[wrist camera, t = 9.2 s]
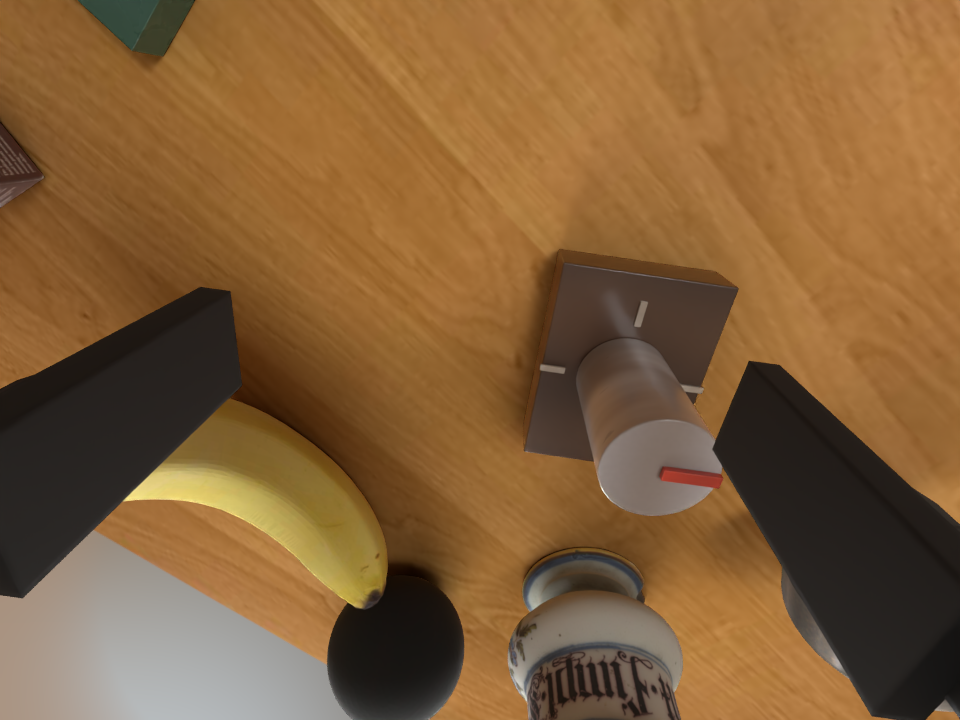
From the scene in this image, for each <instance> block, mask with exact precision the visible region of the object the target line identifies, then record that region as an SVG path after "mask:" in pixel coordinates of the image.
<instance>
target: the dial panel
mask: <svg viewBox="0 0 960 720" xmlns="http://www.w3.org/2000/svg"><path fill="white" fill-rule="evenodd" d="M737 292H738V287H737V286H735V285H734V284H732V283H731V282H730V281H728V280H727V279H726V278H724V277H723V276H722V275H720V274H719V273H717V272H714V271H707V270H701V269H694V268H687V267H680V266H673V265H666V264H659V263H652V262H646V261H639V260H632V259H625V258H618V257H611V256H604V255H597V254H591V253H584V252H577V251H570V250H563V249H559V251H558V256H557V261H556V266H555V271H554V276H553V281H552V286H551V291H550V296H549V300H548V305H547V310H546V315H545V320H544V325H543V330H542V335H541V340H540V344H539V349H538V354H537V359H536V364H535V369H534V374H533V379H532V384H531V389H530V393H529V398H528V403H527V408H526V413H525V418H524V423H523V436H524V451H525V452H531V453H538V454H545V455H552V456H559V457H566V458H572V459H579V460H586V461H593V462H594V459H593V455H592V451H591V447H590V442H589V438H588V434H587V429H586V425H585V421H584V417H583V412H582V408H581V404H580V400H579V395H578V391H577V386H576V377H577V372H578V369H579V366H580V364H581V362H582V361H583V359H584V358H585V357H586V356H587V355H588V353H590V352H591V351H592V350H593V349H594V348H596V347H597V346H599V345H601V344H603V343H605V342H607V341H611V340H614V339H620V338H630V339H637V340H641V341H644V342H646V343H648V344H650V345H652V346H653V347H654V348H656V349H657V350H658V351H659V352H660V354H661V355H662V356H663V358H664V360H665V361H666V363H667V364H668V366H669V367H670V369H671V371H672V372H673V374H674V375H675V377H676V378H677V380H678V382H679V383H680V385H681V386H682V388H683V389H684V391H685V393H686V394H687V396H688V397H689V399H690V401H691V402H692V404H693V405H694V403H695V400H696V397H697V395H698V393H699V394H702V392H703V390H704V388H703V387H701V385H702V382H703V379H704V377H705V374H706V372H707V369H708V366H709V364H710V361H711V359H712V356H713V354H714V351H715V348H716V346H717V343H718V341H719V338H720V336H721V333H722V330H723V328H724V325H725V323H726V320H727V317H728V315H729V312H730V310H731V307H732V305H733V302H734V299H735V297H736V294H737Z"/></svg>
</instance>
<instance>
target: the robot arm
mask: <svg viewBox="0 0 960 720" xmlns="http://www.w3.org/2000/svg"><path fill="white" fill-rule="evenodd" d="M241 386H242V380H241V372H240V364H239V356H238V348H237V340H236V332H235V324H234V316H233V308H232V300H231V292H230V291H226V290H219V289H211V288H204V287H199V288H198V289H196V290H194V291H192V292H190V293H188V294H186V295H184V296H182V297H181V298H179V299H177V300H175V301H173V302H171V303H169V304H167V305H165V306H163V307H162V308H160V309H158V310H156V311H154V312H152V313H150V314H148V315H146V316H145V317H143V318H141V319H139V320H137V321H135V322H133V323H131V324H129V325H128V326H126V327H124V328H122V329H120V330H118V331H116V332H114V333H112V334H111V335H109V336H107V337H105V338H103V339H101V340H99V341H97V342H95V343H94V344H92V345H90V346H88V347H86V348H84V349H82V350H80V351H78V352H77V353H75V354H73V355H71V356H69V357H67V358H65V359H63V360H61V361H60V362H58V363H56V364H54V365H52V366H50V367H48V368H46V369H44V370H42V371H41V372H39V373H37V374H35V375H32V376H29V377H26V378H23V379H20V380H17V381H15V382H13V383H11V384H9V385H7V386H5V387H3V388H1V389H0V595H3V596H10V597H18V598H23V597H24V596H25V595H27V593H29V592H30V591H31V590H32V589H33V588H34V586H36V585H37V584H38V583H39V582H40V581H41V580H42V579H43V578H44V577H45V576H46V575H47V574H48V573H49V572H50V571H51V570H52V569H53V568H54V567H55V566H56V565H57V564H58V563H60V562H61V560H63V559H64V557H66V556H67V555H68V554H69V553H70V552H71V551H72V550H73V549H74V548H75V547H76V546H77V545H78V544H79V543H80V542H81V541H82V540H83V539H84V538H85V537H86V536H87V535H88V534H89V533H90V532H91V531H93V530H94V529H95V528H96V527H97V526H98V525H99V524H100V523H101V522H102V521H103V520H104V519H105V518H106V517H107V516H108V515H109V514H110V513H111V512H112V511H113V510H114V509H115V508H116V507H117V506H118V505H119V504H120V503H121V502H122V501H123V500H124V499H126V498H127V497H128V496H129V495H130V494H131V493H132V492H133V491H134V490H135V489H136V488H137V487H138V486H139V485H140V484H141V483H142V482H143V481H144V480H145V479H146V478H147V477H148V476H149V475H150V474H151V473H152V472H153V471H154V470H155V469H156V468H157V467H158V466H160V465H161V464H162V463H163V462H164V461H165V460H166V459H167V458H168V457H169V456H170V455H171V454H172V453H173V452H174V451H175V450H176V449H177V448H178V447H179V446H180V445H181V444H182V443H183V442H184V441H185V440H186V439H187V438H188V437H189V436H190V435H191V434H193V433H194V432H195V431H196V430H197V429H198V428H199V427H200V426H201V425H202V424H203V423H204V422H205V421H206V420H207V419H208V418H209V417H210V416H211V415H212V414H213V413H214V412H215V411H216V410H217V409H218V408H219V407H220V406H221V405H222V404H223V403H224V402H226V401H227V400H228V399H229V398H230V397H231V396H232V395H233V394H234V393H235V392H236V391H237V390H238V389H239V388H240V387H241ZM712 450H713V452H714V453H715V455H716V457H717V458H718V460H719V462H720V463H721V465H722V467H723V468H724V470H725V472H726V473H727V475H728V477H729V478H730V480H731V482H732V483H733V485H734V487H735V488H736V490H737V492H738V493H739V495H740V497H741V498H742V500H743V502H744V503H745V505H746V507H747V508H748V510H749V512H750V513H751V515H752V517H753V518H754V520H755V522H756V523H757V525H758V527H759V529H760V530H761V532H762V534H763V535H764V537H765V539H766V540H767V542H768V544H769V545H770V547H771V549H772V550H773V552H774V554H775V555H776V557H777V559H778V560H779V562H780V564H781V565H782V567H783V569H784V570H785V572H786V574H787V575H788V577H789V579H790V580H791V582H792V584H793V585H794V587H795V589H796V590H797V592H798V594H799V595H800V597H801V599H802V600H803V602H804V604H805V605H806V607H807V609H808V610H809V612H810V614H811V615H812V617H813V619H814V620H815V622H816V624H817V625H818V627H819V629H820V630H821V632H822V634H823V635H824V637H825V639H826V640H827V642H828V644H829V645H830V647H831V649H832V650H833V652H834V654H835V656H836V657H837V659H838V661H839V662H840V664H841V666H842V667H843V669H844V671H845V672H846V674H847V676H848V677H849V679H850V681H851V682H852V684H853V686H854V687H855V689H856V691H857V692H858V694H859V696H860V697H861V699H862V701H863V702H864V704H865V706H866V707H867V709H868V711H869V712H870V714H871V716H874V717H881V718H888V719H896V720H926V719H927V717H928V716H929V715H930V714H931V713H932V712H933V711H934V710H935V709H936V708H937V707H938V706H939V705H940V704H941V703H942V702H943V701H944V700H945V699H946V701H947V702H948V703H949V705H950V706H951V707H952V709H953V710H954V711H955V713H956V714H957V715H958V717H959V718H960V524H959V523H958V522H956V521H955V520H954V519H953V518H952V517H951V516H950V515H949V514H948V513H947V512H945V511H944V510H943V509H942V508H941V507H940V506H939V505H938V504H937V503H935V502H933V501H932V500H930V499H929V498H927V497H926V496H924V495H923V494H921V493H920V492H918V491H917V490H915V489H913V488H912V487H911V486H910V485H909V484H908V483H906V482H905V481H904V480H903V479H902V478H901V477H900V476H899V475H898V474H897V473H896V472H895V471H894V470H892V469H891V468H890V467H889V466H888V465H887V464H886V463H885V462H884V461H883V460H882V459H881V458H879V457H878V456H877V455H876V454H875V453H874V452H873V451H872V450H871V449H870V448H869V447H868V446H866V445H865V444H864V443H863V442H862V441H861V440H860V439H859V438H858V437H857V436H856V435H855V434H854V433H852V432H851V431H850V430H849V429H848V428H847V427H846V426H845V425H844V424H843V423H842V422H841V421H839V420H838V419H837V418H836V417H835V416H834V415H833V414H832V413H831V412H830V411H829V410H828V409H827V408H825V407H824V406H823V405H822V404H821V403H820V402H819V401H818V400H817V399H816V398H815V397H814V396H812V395H811V394H810V393H809V392H808V391H807V390H806V389H805V388H804V387H803V386H802V385H801V384H800V383H798V382H797V381H796V380H795V379H794V378H793V377H792V376H791V375H790V374H789V373H788V372H787V371H785V370H784V369H783V368H782V367H781V366H780V365H776V364H769V363H761V362H754V361H749V362H748V364H747V367H746V369H745V372H744V374H743V376H742V379H741V381H740V384H739V386H738V388H737V391H736V393H735V395H734V398H733V400H732V403H731V405H730V407H729V410H728V412H727V415H726V417H725V419H724V422H723V424H722V427H721V429H720V431H719V434H718V436H717V438H716V441H715V443H714V446H713V448H712Z"/></svg>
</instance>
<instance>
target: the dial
mask: <svg viewBox="0 0 960 720" xmlns="http://www.w3.org/2000/svg"><path fill="white" fill-rule="evenodd" d="M576 386H577V391H578V395H579V400H580V404H581V408H582V412H583V417H584V421H585V425H586V429H587V434H588V438H589V442H590V447H591V451H592V455H593V459H594V464H595V468H596V472H597V477H598V481H599V484H600V487H601V489H602V491H603V492H604V494H605V495H606V496H607V497H608V498H609V499H610V500H611V501H612V502H613V503H614V504H616V505H617V506H619V507H620V508H622V509H624V510H626V511H629V512H632V513H635V514H640V515H648V516H660V515H668V514H673V513H676V512H680V511H683V510H685V509H687V508H690V507H691V506H693V505H695V504H697V503H698V502H700V501H701V500H702V499H704V498H705V497H706V496H707V495H708V494H709V493H710V492H711V491H712V489H713V488H718V489H719V487H720V485H721V483H722V481H723V477H722V475H721V471H722V465H721V463H720V462H719V460H718V458H717V457H716V455H715V453H714V452H713V450H712V448H713V446H714V443H715V441H716V440H715V438H714V437H713V435H712V434H711V432H710V430H709V429H708V427H707V426H706V424H705V423H704V421H703V419H702V418H701V416H700V415H699V413H698V412H697V410H696V408H695V407H694V405H693V404H692V402H691V401H690V399H689V397H688V396H687V394H686V393H685V391H684V389H683V388H682V386H681V385H680V383H679V382H678V380H677V378H676V377H675V375H674V374H673V372H672V371H671V369H670V367H669V366H668V364H667V363H666V361H665V360H664V358H663V356H662V355H661V354H660V352H659V351H658V350H657V349H656V348H654V347H653V346H652V345H650V344H648V343H646V342H644V341H641V340H637V339H630V338H620V339H614V340H611V341H607V342H605V343H603V344H601V345H599V346H597V347H596V348H594V349H593V350H592V351H591V352H590V353H588V355H587V356H586V357H585V358H584V359H583V361H582V362H581V364H580V366H579V369H578V372H577V377H576Z"/></svg>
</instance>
